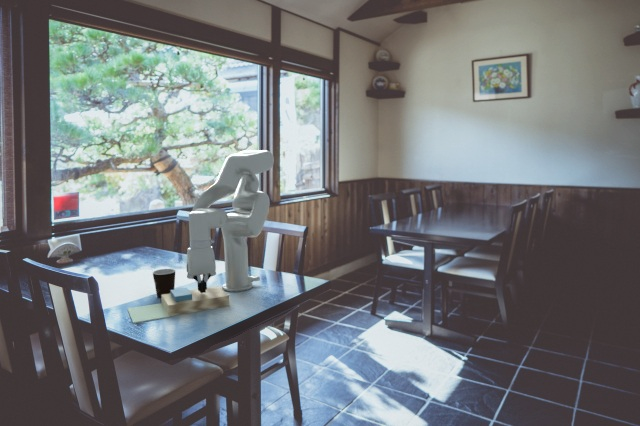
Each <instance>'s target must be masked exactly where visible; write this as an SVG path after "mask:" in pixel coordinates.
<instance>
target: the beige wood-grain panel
mask: <svg viewBox="0 0 640 426" xmlns="http://www.w3.org/2000/svg"><path fill="white" fill-rule="evenodd" d="M188 290H189V289H188ZM189 291H190V292H191V293H192V300H185V301H179V302H175V301H174V299H173V298H172V296H171V293H169V294H163V295H161V298H160V299H161V303H162V305H163V307H164V308H165V310H166V311H167V313H168V315H169V316H170V317H172V316H180V315H184V314H191V313H195V312H196V313H197V312H202V311H207V310H215V309H220V308H224V307H225V308H226V307H230V295H229V293H227V291H226V290H223V289H222V287H220V286H219V285H217V286H209V287H207V290H206V293H204V292H203V293H201V292H200V291H198V288H197V289H190V290H189Z"/></svg>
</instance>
